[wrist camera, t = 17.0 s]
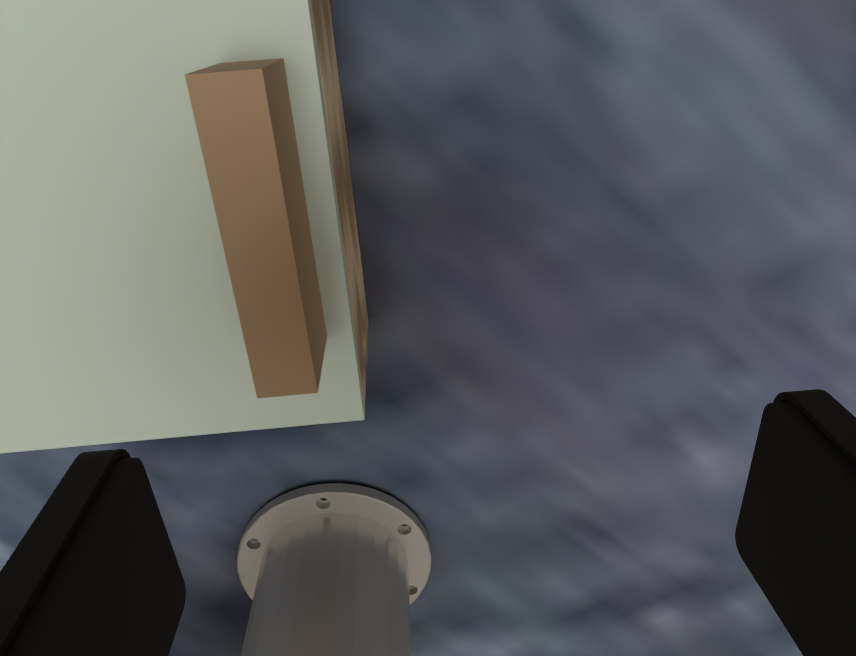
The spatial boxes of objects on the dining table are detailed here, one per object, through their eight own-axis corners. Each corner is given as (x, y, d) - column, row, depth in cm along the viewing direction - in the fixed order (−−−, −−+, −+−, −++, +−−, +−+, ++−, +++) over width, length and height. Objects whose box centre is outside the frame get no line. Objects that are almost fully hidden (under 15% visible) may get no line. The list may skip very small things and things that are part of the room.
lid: (364, 406, 27) (361, 483, 23) (-60, 445, 27) (-149, 532, 22) (298, -90, 19) (273, -121, 15) (-314, -48, 19) (-534, -66, 14)
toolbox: (368, 321, 35) (365, 402, 28) (36, 350, 34) (-55, 440, 27) (322, -62, 27) (300, -89, 19) (-115, -32, 26) (-302, -47, 19)
